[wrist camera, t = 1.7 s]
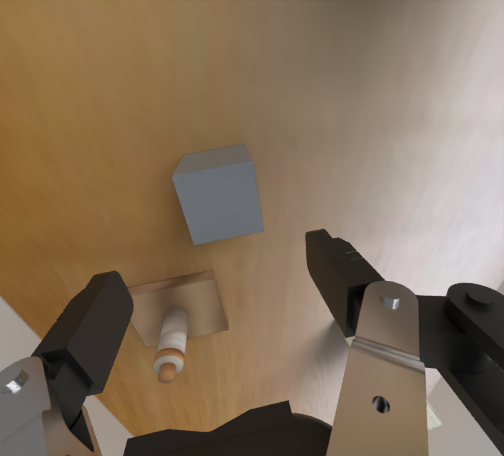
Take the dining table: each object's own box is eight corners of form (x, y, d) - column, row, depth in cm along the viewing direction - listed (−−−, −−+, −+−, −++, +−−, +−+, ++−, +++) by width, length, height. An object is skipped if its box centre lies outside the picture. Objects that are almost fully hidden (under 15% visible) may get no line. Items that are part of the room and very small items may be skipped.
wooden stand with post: (213, 270, 27) (211, 336, 19) (228, 319, 31) (231, 390, 23) (123, 288, 27) (86, 363, 19) (149, 336, 31) (127, 414, 23)
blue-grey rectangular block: (243, 143, 21) (252, 160, 15) (252, 198, 24) (263, 231, 18) (183, 154, 21) (171, 176, 15) (199, 209, 23) (193, 245, 18)
